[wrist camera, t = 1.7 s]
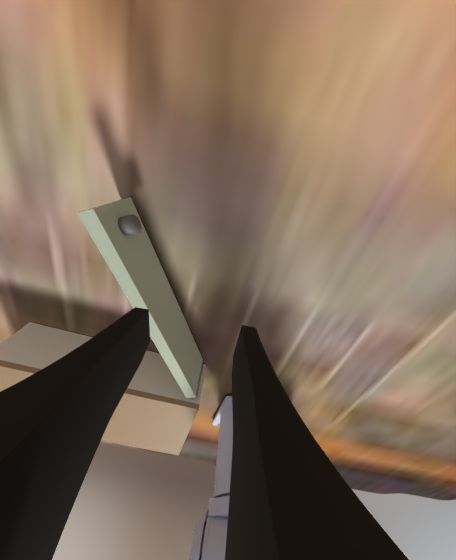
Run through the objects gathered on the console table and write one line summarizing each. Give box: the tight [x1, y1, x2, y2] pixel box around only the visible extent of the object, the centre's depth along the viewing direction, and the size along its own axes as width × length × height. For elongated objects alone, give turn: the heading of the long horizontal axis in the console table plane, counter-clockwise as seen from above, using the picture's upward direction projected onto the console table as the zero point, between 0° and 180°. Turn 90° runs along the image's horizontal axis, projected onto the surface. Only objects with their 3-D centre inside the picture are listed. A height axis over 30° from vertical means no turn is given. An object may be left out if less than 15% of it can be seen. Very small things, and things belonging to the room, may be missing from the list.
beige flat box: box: [0, 322, 206, 455], centre depth 24 cm, size 20×12×5 cm, turn 73°
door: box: [78, 197, 204, 399], centre depth 17 cm, size 18×2×4 cm, turn 13°
